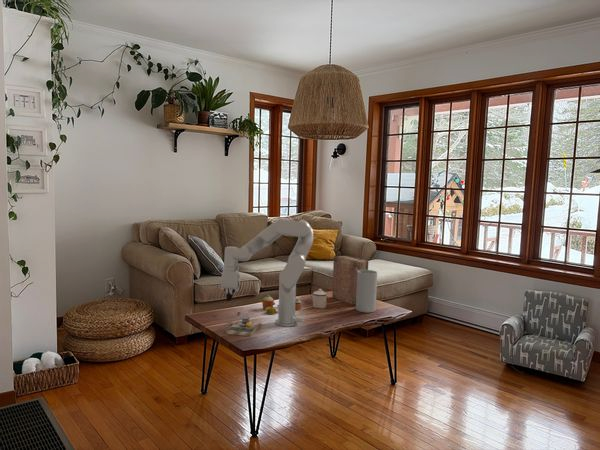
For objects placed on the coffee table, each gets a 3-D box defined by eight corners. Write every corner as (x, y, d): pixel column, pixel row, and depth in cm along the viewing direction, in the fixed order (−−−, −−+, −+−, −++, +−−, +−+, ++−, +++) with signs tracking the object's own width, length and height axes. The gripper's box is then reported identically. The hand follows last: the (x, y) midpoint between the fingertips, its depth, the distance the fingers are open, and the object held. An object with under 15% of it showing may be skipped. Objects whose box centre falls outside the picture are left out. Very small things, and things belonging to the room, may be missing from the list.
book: (366, 304, 310) (368, 260, 307) (356, 306, 304) (358, 261, 301) (342, 296, 330) (343, 254, 327) (332, 297, 325) (333, 255, 322)
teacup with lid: (329, 306, 301) (329, 289, 300) (320, 309, 294) (321, 291, 293) (314, 303, 309) (315, 286, 308) (306, 305, 302) (306, 288, 301)
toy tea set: (267, 316, 278) (268, 300, 277) (256, 309, 291) (257, 294, 290) (305, 311, 291) (305, 296, 290) (292, 305, 304) (293, 290, 303)
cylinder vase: (366, 314, 287) (368, 274, 285) (351, 309, 296) (353, 271, 294) (379, 310, 295) (381, 272, 293) (364, 306, 305) (366, 269, 302)
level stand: (261, 325, 257) (261, 322, 257) (250, 336, 240) (250, 332, 240) (237, 323, 260) (237, 320, 260) (225, 333, 243) (225, 329, 243)
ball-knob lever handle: (255, 329, 245) (255, 321, 245) (244, 330, 243) (244, 322, 242) (243, 316, 266) (243, 309, 266) (233, 317, 264) (233, 310, 264)
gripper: (245, 268, 262) (244, 300, 263) (220, 266, 265) (219, 297, 267) (240, 271, 254) (239, 303, 256) (215, 268, 258) (214, 300, 259)
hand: (229, 300), depth 261 cm, fingers closed
